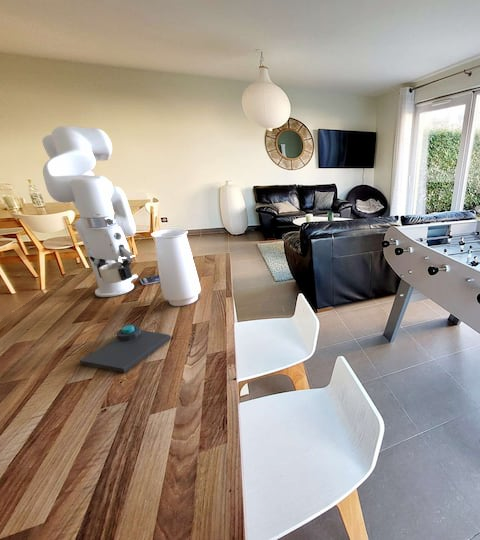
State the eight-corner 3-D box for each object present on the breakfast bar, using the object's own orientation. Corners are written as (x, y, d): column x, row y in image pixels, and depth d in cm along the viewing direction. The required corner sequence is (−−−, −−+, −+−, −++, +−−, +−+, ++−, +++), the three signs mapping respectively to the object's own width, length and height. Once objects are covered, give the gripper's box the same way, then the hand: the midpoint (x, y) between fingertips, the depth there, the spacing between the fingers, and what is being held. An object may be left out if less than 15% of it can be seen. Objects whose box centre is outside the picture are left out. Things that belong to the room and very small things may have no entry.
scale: (131, 332, 94) (129, 324, 93) (170, 338, 92) (168, 330, 91) (79, 364, 80) (76, 355, 78) (124, 372, 78) (121, 363, 76)
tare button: (129, 328, 92) (127, 324, 91) (137, 329, 91) (136, 325, 91) (120, 333, 89) (119, 329, 88) (128, 335, 88) (127, 330, 88)
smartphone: (139, 278, 130) (177, 271, 139) (139, 279, 130) (177, 272, 140) (142, 284, 125) (181, 276, 134) (143, 285, 125) (181, 277, 135)
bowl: (118, 274, 94) (114, 261, 93) (136, 276, 93) (132, 263, 92) (97, 282, 88) (92, 268, 86) (116, 284, 87) (112, 271, 85)
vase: (207, 293, 121) (196, 229, 111) (192, 308, 109) (178, 238, 99) (176, 292, 121) (162, 227, 110) (157, 307, 109) (139, 236, 98)
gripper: (137, 221, 86) (150, 275, 93) (88, 217, 88) (104, 270, 95) (113, 226, 79) (129, 285, 86) (60, 222, 82) (80, 279, 88)
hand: (116, 277), depth 90 cm, fingers closed on bowl, 6 cm apart
